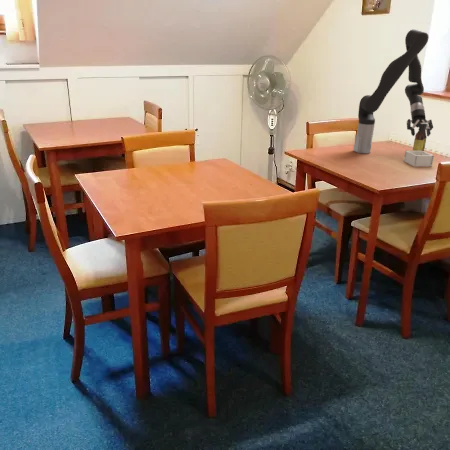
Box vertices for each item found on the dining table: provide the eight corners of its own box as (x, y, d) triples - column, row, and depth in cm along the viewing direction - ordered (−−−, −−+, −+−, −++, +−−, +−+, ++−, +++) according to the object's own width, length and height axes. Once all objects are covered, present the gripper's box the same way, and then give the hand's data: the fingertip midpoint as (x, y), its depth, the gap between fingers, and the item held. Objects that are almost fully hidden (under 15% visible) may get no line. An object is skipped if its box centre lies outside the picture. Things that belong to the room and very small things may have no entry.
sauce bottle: (423, 158, 268) (430, 124, 260) (412, 158, 269) (418, 123, 261) (421, 156, 274) (428, 122, 266) (410, 155, 275) (416, 122, 267)
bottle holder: (414, 166, 251) (416, 155, 249) (403, 161, 261) (405, 150, 259) (431, 166, 252) (433, 155, 250) (420, 160, 263) (422, 150, 260)
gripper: (408, 108, 269) (411, 131, 263) (432, 108, 269) (436, 132, 263) (403, 115, 276) (406, 138, 270) (427, 116, 276) (430, 139, 270)
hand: (421, 135), depth 266 cm, fingers open, 8 cm apart
